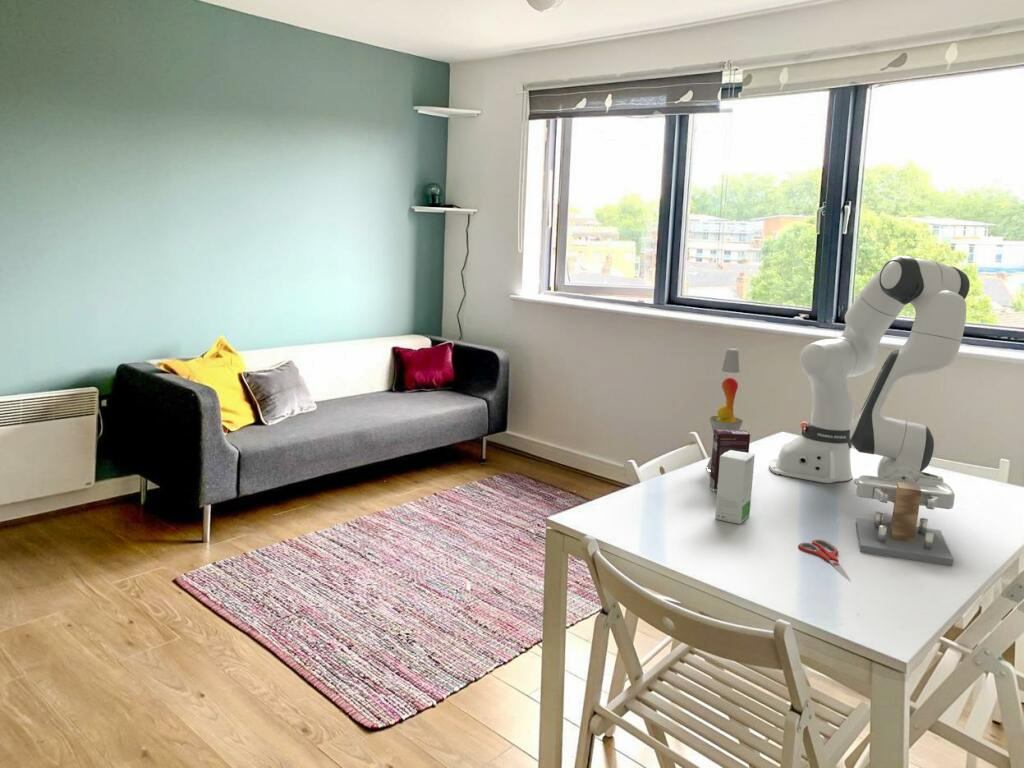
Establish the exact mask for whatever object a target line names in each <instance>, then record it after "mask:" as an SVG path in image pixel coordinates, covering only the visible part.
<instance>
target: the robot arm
mask: <svg viewBox="0 0 1024 768" xmlns="http://www.w3.org/2000/svg"><path fill="white" fill-rule="evenodd" d="M970 286H971V284H970V279H969V277H968V275H967V274H966V273H965V272H964V271H962V270H961V269H960V268H958V267H955V266H953V265H947V264H945V263H942V262H939V261H935V260H931V259H929V260H928V259H923V258H922V259H921V258H918V257H917V258H915V257H913V256H911V255H910V256H909V255H908V256H906V255H904V256H903V255H900V256H898V255H897V256H895V257H892V258H890V259H889V260H888V261H887V262H886V263H885V264H884V265H883V266H882V268H880V269H879V271H877V272H876V273H875V274H874V275H873V276H872V278H871V279H870V280H869V281H868V282H867V283H866V285H865V286H864V287H863V288H862V289H861V291H860V292H859V294H858V295H857V297H856V298H855V299H854V301H853V302H852V304H851V305H850V307H849V308H848V310H846V313H845V314H844V322H845V326H844V327H845V328H844V330H843V332H842V334H841V335H840V336H838V337H837V338H827V339H820V340H817V341H814V342H812V343H809V344H807V345H805V346H804V347H803V348H802V350H801V352H800V355H799V365H800V369H801V370H802V372H803V373H804V375H806V377H807V378H808V380H809V383H810V388H811V392H812V393H811V394H812V403H811V405H812V406H811V414H810V415H811V416H810V422H807V421H802V422H801V423H800V428H801V435H800V436H798V437H796V438H794V439H793V440H791V441H788V442H787V443H784V445H783V446H782V447H781V449H780V450H779V453H778V457H777V458H774V459H772V460H770V462H769V466H768V469H769V468H770V469H769V471H770V470H771V471H772V473H773V472H774V473H773V474H775V473H776V474H775V475H779V474H781V476H784V477H785V476H786V477H790V478H796V479H801V480H807V481H811V482H812V481H813V482H816V483H817V482H819V483H823V484H832V483H836V482H846V481H847V482H848V481H850V480H851V479H853V473H852V467H851V449H852V446H853V448H854V449H855V450H856V451H857V452H859V453H862V454H868V455H877V456H881V459H880V460H879V462H878V464H877V471H876V472H877V476H874V475H867V474H866V475H864V474H863V475H859V477H858V478H854V480H853V483H854V485H856V491H855V495H856V496H857V497H860V498H863V499H871V500H877V501H879V503H885V504H888V502H891V503H893V504H894V500H895V493H896V485H897V482H902V483H910V484H917V485H919V486H920V488H921V498H920V505H919V506H922V507H925V508H926V509H928V510H933V511H934V510H935V508H936V509H943V510H944V509H945V510H951V509H953V508H954V503H955V492H954V490H953V489H952V487H950V485H949V484H947V483H946V482H944V478H943V477H942V476H941V475H936V474H933V473H927V472H925V471H924V470H925V469H927V467H928V466H929V465H930V463H931V460H932V457H933V455H934V448H935V441H934V435H933V434H932V432H931V430H930V428H929V427H928V426H927V425H925V424H921V423H917V422H913V421H908V420H903V419H899V418H894V417H890V416H885V415H883V414H882V413H881V412H882V410H883V407H884V405H885V404H886V401H887V399H888V396H889V395H890V393H891V391H892V390H893V387H894V385H895V384H896V383H897V382H898V381H899V380H901V379H904V378H908V377H912V376H919V375H928V374H934V373H938V372H940V371H943V370H945V369H946V368H948V367H950V366H951V365H952V364H953V363H954V361H955V360H956V357H957V355H958V353H959V350H960V347H961V344H962V340H963V336H964V331H965V327H966V319H967V302H966V298H967V297H968V296H969V295H968V294H969V291H970ZM909 304H910V305H911V306H913V307H912V308H914V311H915V317H914V320H913V324H912V327H911V330H910V332H909V337H908V338H907V340H906V341H905V343H904V344H903V345H902V347H900V348H899V349H897V350H896V349H895V350H892V351H891V352H890V354H889V355H888V356H887V357H886V359H885V361H884V363H883V365H882V367H881V369H880V371H879V373H878V374H877V377H876V379H875V380H874V383H873V385H872V387H871V389H870V392H869V393H868V395H867V397H866V400H865V401H864V404H863V406H862V408H861V409H860V412H859V414H858V415H857V416H856V418H855V419H854V417H855V409H856V408H855V407H856V400H855V399H854V398H853V396H852V395H850V393H849V389H848V384H847V381H848V380H847V379H848V378H853V377H859V376H862V375H865V374H866V373H868V372H870V371H872V370H874V369H875V367H876V366H877V364H878V362H879V352H878V347H879V345H880V342H881V340H882V338H883V337H884V335H885V334H886V332H887V330H888V329H889V328H890V327H891V325H892V324H893V323H894V321H895V320H896V319H897V317H898V316H899V315H900V313H902V311H903V309H904V308H905V306H906V305H909ZM771 471H770V472H771Z"/></svg>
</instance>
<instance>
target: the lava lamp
mask: <svg viewBox="0 0 1024 768" xmlns="http://www.w3.org/2000/svg"><path fill="white" fill-rule="evenodd" d="M721 368H722V369H721V372H724V373H731V374H732V373H735V374H736V373H740V372H741V371H740V370H741V369H740V356H739V349H737V348H727V350H726V352H725V357H724V359H723V364H722V367H721ZM722 381H723V382H722V383H721V388H722V391H723V392H724V396H725V405H723V406H721V407H719V408H718V410H717V415H714V416H710V417H709V422H710V426H711V430H712V435H714V429H716V430H741V426H742V424H743V421H744V420H742V419H741V418H738V417H735V414H734V404H735V397H736V394H737V390H738V388H739V384H738V383H739V382H738V381H737V380H736V379H735V378H733V377H727V378H725V379H724V380H722ZM711 461H712V454H711V455H710V457H709V460H708V461H707V465H706V467H708V469H710V470H711Z"/></svg>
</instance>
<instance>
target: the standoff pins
mask: <svg viewBox="0 0 1024 768" xmlns="http://www.w3.org/2000/svg"><path fill="white" fill-rule="evenodd" d="M883 520H884V512H881V511H875V519H874V521H875V524H874V527H875V528H878V529H879V532H878V539H877V541H878V542H881V543H885V540H886V533H887V526H885V525H882V522H884V521H883ZM928 523H929V519H928V518H926V517H920V518H919V525H918V527H919V530H918V534H920V535H925V539H924V546H923V548H924V549H927V550H931V549H932V542H933V536H934V533H932V532H926V530H927V528H928Z"/></svg>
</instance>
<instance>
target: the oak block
mask: <svg viewBox="0 0 1024 768" xmlns="http://www.w3.org/2000/svg"><path fill="white" fill-rule="evenodd" d="M920 498H921V488H920V486H919V485H917V484H910V483H902V482H897V485H896V493H895V500H894V503H893V508H892V515H891V522H890V523H891V529H890V534H891V538H892V539H893V540H900V541H906V542H913V543H914V540H915V533H916V527H918V525H917V524H918V518H919V511H920V506H921V505H920Z"/></svg>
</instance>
